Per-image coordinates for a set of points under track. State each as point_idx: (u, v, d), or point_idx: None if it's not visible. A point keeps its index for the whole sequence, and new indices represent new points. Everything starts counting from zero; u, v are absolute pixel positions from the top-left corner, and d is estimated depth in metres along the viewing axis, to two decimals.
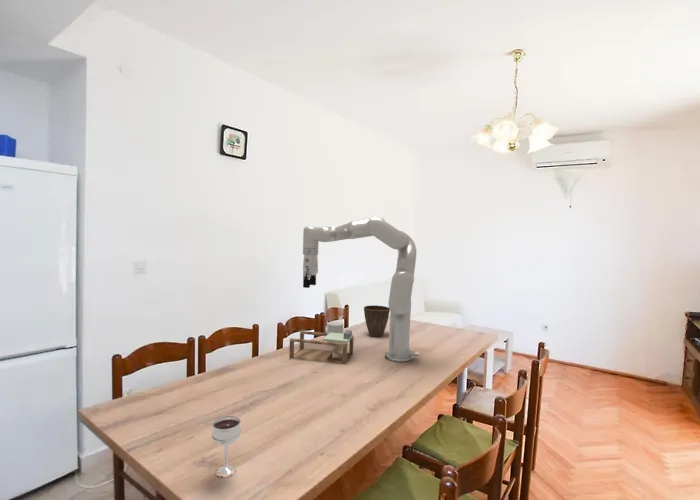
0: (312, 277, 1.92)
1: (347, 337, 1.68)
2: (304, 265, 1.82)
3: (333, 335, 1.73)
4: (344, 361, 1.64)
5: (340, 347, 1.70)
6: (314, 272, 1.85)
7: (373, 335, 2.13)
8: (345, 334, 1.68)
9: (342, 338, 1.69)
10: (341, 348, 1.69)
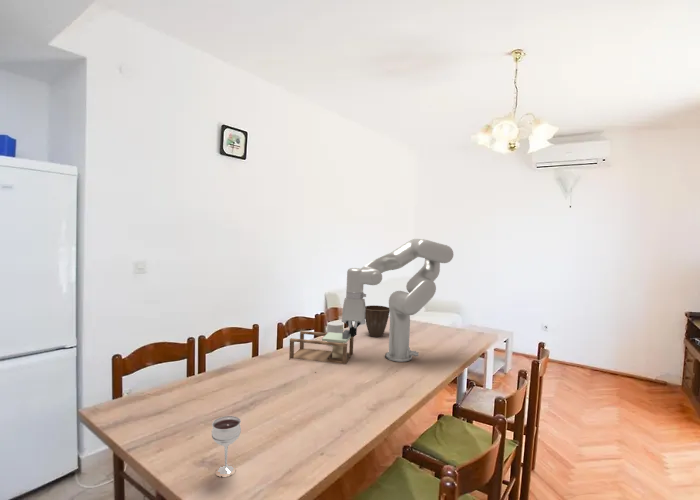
0: None
1: (346, 337, 1.68)
2: (364, 311, 1.68)
3: (332, 335, 1.74)
4: (344, 361, 1.64)
5: (340, 347, 1.70)
6: None
7: (373, 335, 2.13)
8: (344, 334, 1.68)
9: (341, 338, 1.69)
10: (341, 348, 1.69)
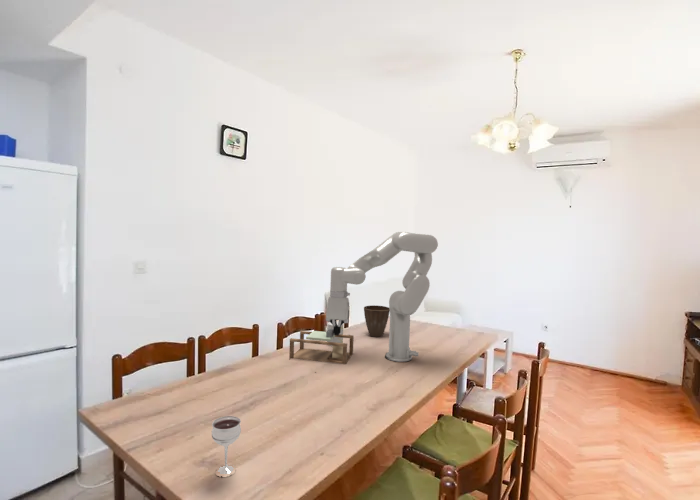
0: None
1: (330, 335, 1.70)
2: (347, 310, 1.69)
3: (316, 333, 1.75)
4: (344, 361, 1.64)
5: (340, 347, 1.70)
6: None
7: (373, 335, 2.13)
8: (328, 332, 1.70)
9: (325, 336, 1.71)
10: (341, 348, 1.69)
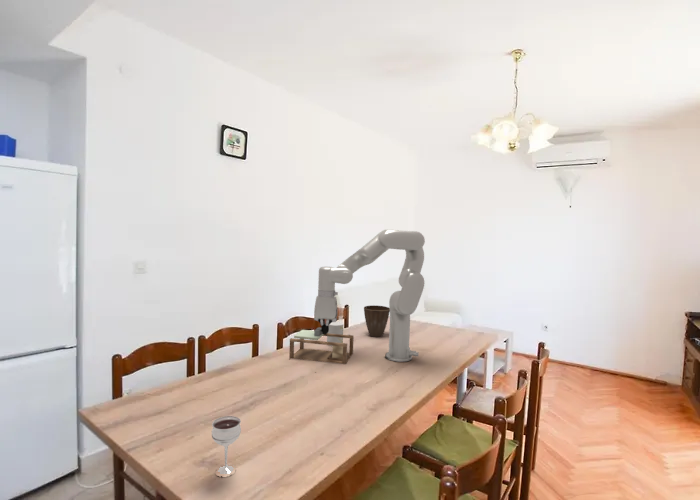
0: None
1: (317, 334, 1.71)
2: (335, 309, 1.71)
3: (305, 332, 1.76)
4: (344, 361, 1.64)
5: (340, 347, 1.70)
6: None
7: (373, 335, 2.13)
8: (316, 331, 1.71)
9: (313, 335, 1.72)
10: (341, 348, 1.69)
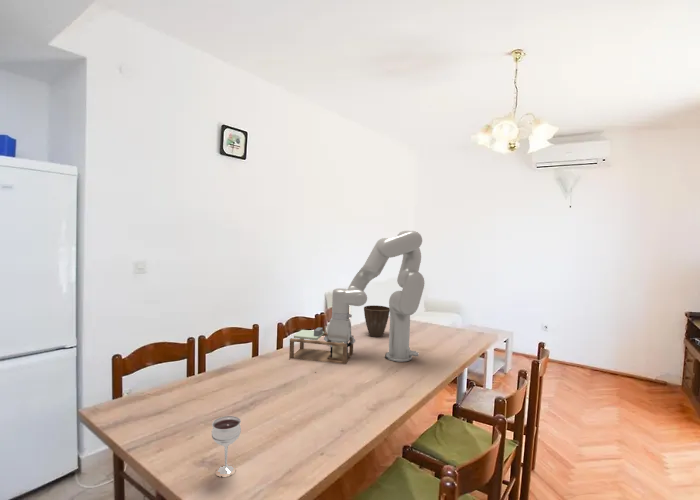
0: None
1: (317, 334, 1.71)
2: (349, 331, 1.70)
3: (304, 332, 1.76)
4: (344, 361, 1.64)
5: (340, 347, 1.70)
6: None
7: (373, 335, 2.13)
8: (315, 331, 1.71)
9: (312, 335, 1.72)
10: (341, 348, 1.69)
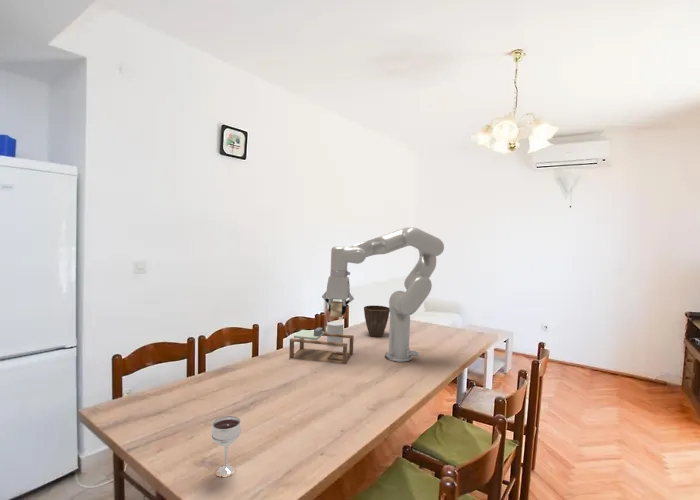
0: None
1: (317, 334, 1.71)
2: (348, 289, 1.69)
3: (304, 332, 1.76)
4: (344, 361, 1.64)
5: (338, 304, 1.69)
6: None
7: (373, 335, 2.13)
8: (315, 331, 1.71)
9: (312, 335, 1.72)
10: (339, 305, 1.69)
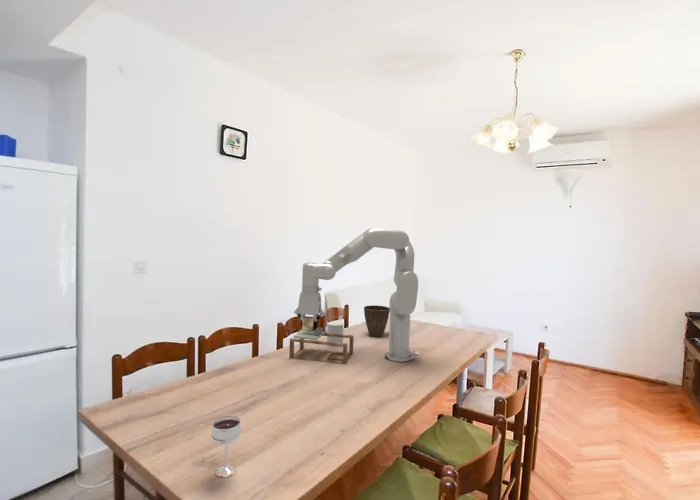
0: None
1: (317, 334, 1.71)
2: (319, 305, 1.72)
3: (304, 332, 1.76)
4: (344, 361, 1.64)
5: (310, 320, 1.72)
6: None
7: (373, 335, 2.13)
8: (315, 331, 1.71)
9: (312, 335, 1.72)
10: (311, 321, 1.72)
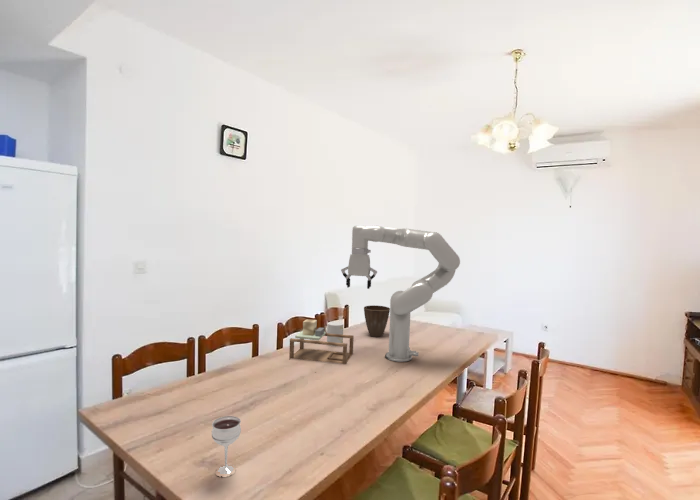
0: (349, 279, 1.81)
1: (319, 334, 1.71)
2: (368, 266, 1.77)
3: None
4: (344, 361, 1.64)
5: (310, 323, 1.72)
6: None
7: (373, 335, 2.13)
8: (317, 331, 1.71)
9: (314, 335, 1.72)
10: (311, 324, 1.72)
